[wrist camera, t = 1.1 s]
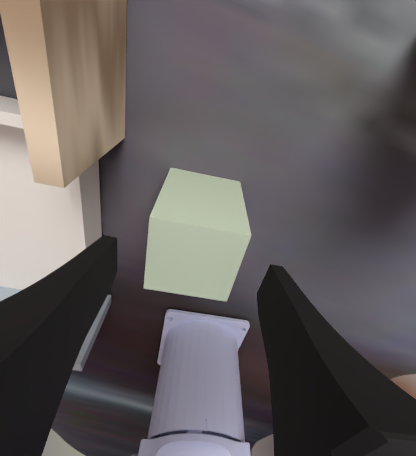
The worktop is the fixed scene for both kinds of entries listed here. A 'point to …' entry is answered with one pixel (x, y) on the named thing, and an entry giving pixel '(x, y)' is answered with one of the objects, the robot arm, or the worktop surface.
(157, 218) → the block
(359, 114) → the worktop surface
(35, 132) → the dock
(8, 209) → the tray
